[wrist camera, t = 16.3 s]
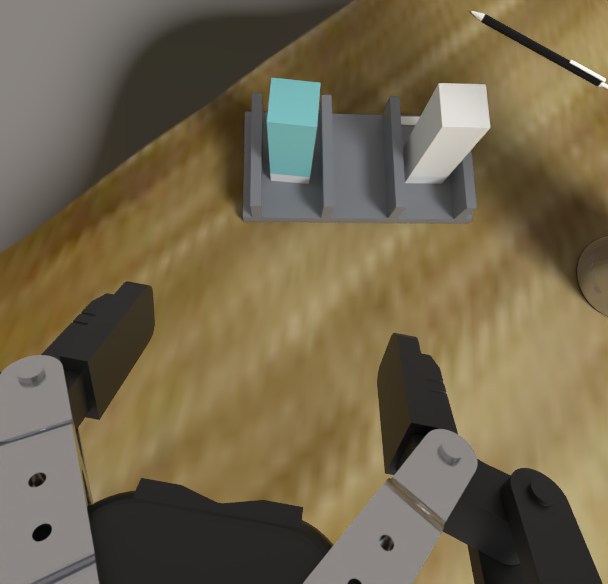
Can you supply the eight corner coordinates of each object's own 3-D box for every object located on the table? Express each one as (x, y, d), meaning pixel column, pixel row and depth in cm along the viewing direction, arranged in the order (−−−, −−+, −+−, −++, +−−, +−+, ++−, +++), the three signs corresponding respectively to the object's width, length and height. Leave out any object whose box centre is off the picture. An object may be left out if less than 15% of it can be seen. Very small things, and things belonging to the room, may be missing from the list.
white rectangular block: (438, 149, 42) (485, 84, 33) (441, 183, 42) (490, 127, 32) (402, 148, 42) (438, 83, 32) (404, 183, 42) (442, 126, 32)
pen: (606, 94, 47) (614, 88, 46) (467, 17, 48) (471, 8, 47) (609, 89, 47) (617, 82, 46) (470, 11, 48) (474, 3, 47)
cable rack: (458, 123, 45) (475, 98, 40) (467, 223, 42) (487, 208, 38) (245, 118, 43) (241, 92, 39) (243, 221, 41) (239, 205, 37)
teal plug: (311, 149, 42) (320, 82, 32) (308, 184, 41) (317, 126, 31) (274, 145, 42) (271, 77, 32) (270, 180, 41) (266, 121, 31)
